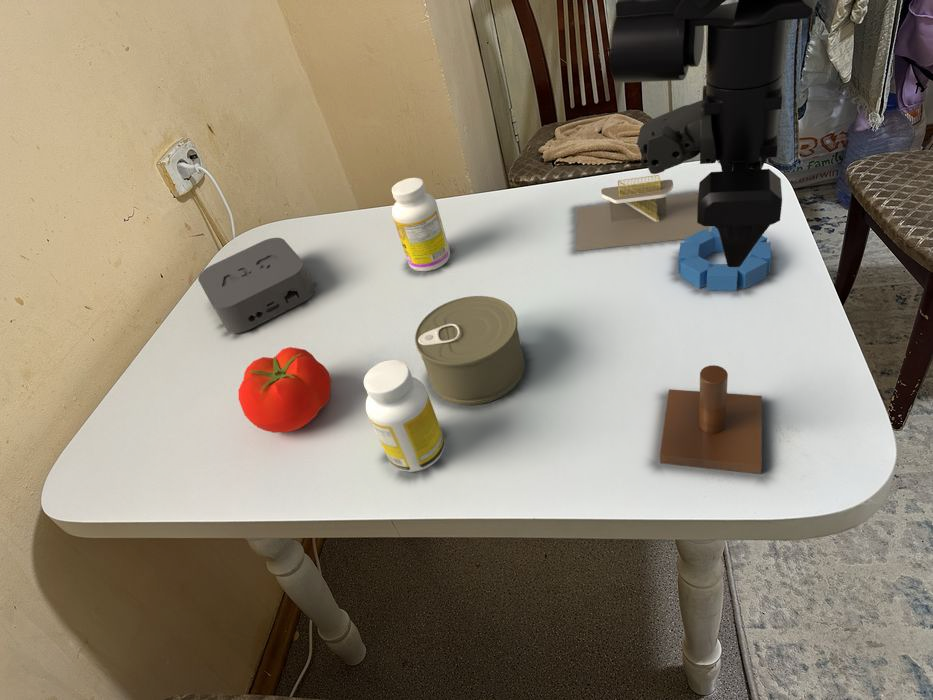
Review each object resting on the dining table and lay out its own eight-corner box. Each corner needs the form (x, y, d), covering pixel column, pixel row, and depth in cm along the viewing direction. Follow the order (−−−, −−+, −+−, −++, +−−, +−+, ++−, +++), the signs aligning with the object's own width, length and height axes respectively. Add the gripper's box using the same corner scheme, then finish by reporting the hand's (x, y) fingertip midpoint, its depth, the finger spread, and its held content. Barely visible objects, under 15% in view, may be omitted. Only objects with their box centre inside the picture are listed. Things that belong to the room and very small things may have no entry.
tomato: (247, 451, 78) (218, 408, 73) (266, 387, 86) (242, 344, 82) (332, 436, 77) (309, 391, 72) (344, 373, 85) (323, 329, 80)
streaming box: (290, 259, 111) (278, 233, 107) (321, 295, 100) (308, 267, 97) (209, 299, 107) (194, 273, 103) (232, 340, 96) (216, 313, 93)
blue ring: (769, 241, 87) (770, 225, 85) (769, 291, 79) (771, 275, 78) (682, 242, 91) (682, 227, 89) (675, 290, 83) (675, 274, 82)
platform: (709, 236, 90) (710, 193, 86) (577, 250, 94) (571, 210, 90) (697, 192, 99) (698, 152, 95) (576, 208, 103) (572, 169, 99)
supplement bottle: (412, 251, 104) (389, 177, 96) (453, 245, 103) (433, 170, 95) (405, 276, 99) (380, 200, 91) (448, 270, 98) (426, 193, 90)
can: (536, 391, 75) (527, 346, 71) (434, 417, 76) (419, 374, 71) (515, 328, 84) (506, 285, 80) (425, 352, 85) (411, 310, 80)
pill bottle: (453, 431, 73) (427, 354, 66) (435, 477, 69) (405, 401, 62) (400, 426, 76) (369, 352, 68) (380, 471, 71) (344, 397, 64)
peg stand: (760, 403, 67) (767, 343, 62) (760, 474, 61) (767, 414, 56) (668, 396, 70) (667, 339, 65) (660, 463, 64) (657, 405, 59)
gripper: (652, 46, 63) (656, 192, 73) (629, 135, 50) (638, 297, 60) (780, 31, 59) (766, 187, 69) (791, 123, 46) (772, 298, 56)
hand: (734, 238), depth 64 cm, fingers open, 9 cm apart
